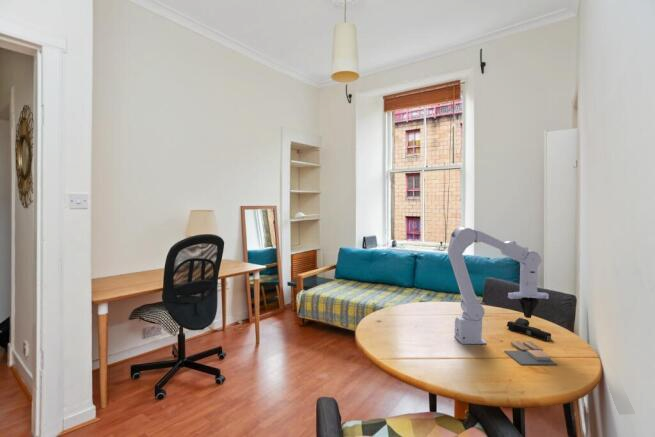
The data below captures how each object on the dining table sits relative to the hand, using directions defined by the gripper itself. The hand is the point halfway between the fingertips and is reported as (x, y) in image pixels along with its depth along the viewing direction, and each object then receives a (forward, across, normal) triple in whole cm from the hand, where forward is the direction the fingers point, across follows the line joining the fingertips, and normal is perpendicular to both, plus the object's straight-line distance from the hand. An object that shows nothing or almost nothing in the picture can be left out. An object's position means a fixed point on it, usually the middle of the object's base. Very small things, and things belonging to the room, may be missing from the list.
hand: (527, 317), depth 127 cm
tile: (+9, -6, -12) cm, 17 cm away
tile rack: (+10, -3, -4) cm, 11 cm away
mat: (+10, -7, -12) cm, 17 cm away
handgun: (+11, +9, +12) cm, 18 cm away
